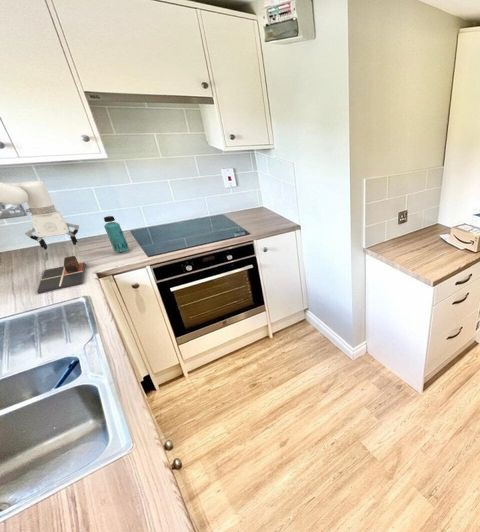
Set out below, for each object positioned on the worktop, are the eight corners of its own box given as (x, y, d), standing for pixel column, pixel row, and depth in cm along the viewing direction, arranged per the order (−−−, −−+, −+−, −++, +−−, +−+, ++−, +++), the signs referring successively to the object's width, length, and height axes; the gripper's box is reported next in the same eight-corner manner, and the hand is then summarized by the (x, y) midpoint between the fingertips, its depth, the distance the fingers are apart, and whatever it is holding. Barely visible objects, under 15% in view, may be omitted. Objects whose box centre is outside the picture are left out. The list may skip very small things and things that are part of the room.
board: (38, 293, 136) (36, 291, 135) (46, 272, 152) (44, 269, 152) (82, 283, 144) (81, 281, 143) (85, 264, 160) (84, 262, 160)
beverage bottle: (115, 255, 169) (100, 219, 160) (114, 251, 174) (99, 216, 165) (131, 252, 173) (116, 217, 164) (129, 248, 178) (115, 214, 168)
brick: (68, 266, 155) (63, 257, 153) (79, 263, 158) (74, 255, 156) (67, 274, 148) (62, 265, 146) (79, 271, 151) (74, 262, 149)
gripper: (12, 215, 133) (32, 253, 140) (70, 209, 142) (85, 244, 150) (16, 211, 138) (35, 247, 145) (71, 205, 148) (86, 239, 155)
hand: (60, 246), depth 148 cm, fingers open, 9 cm apart
